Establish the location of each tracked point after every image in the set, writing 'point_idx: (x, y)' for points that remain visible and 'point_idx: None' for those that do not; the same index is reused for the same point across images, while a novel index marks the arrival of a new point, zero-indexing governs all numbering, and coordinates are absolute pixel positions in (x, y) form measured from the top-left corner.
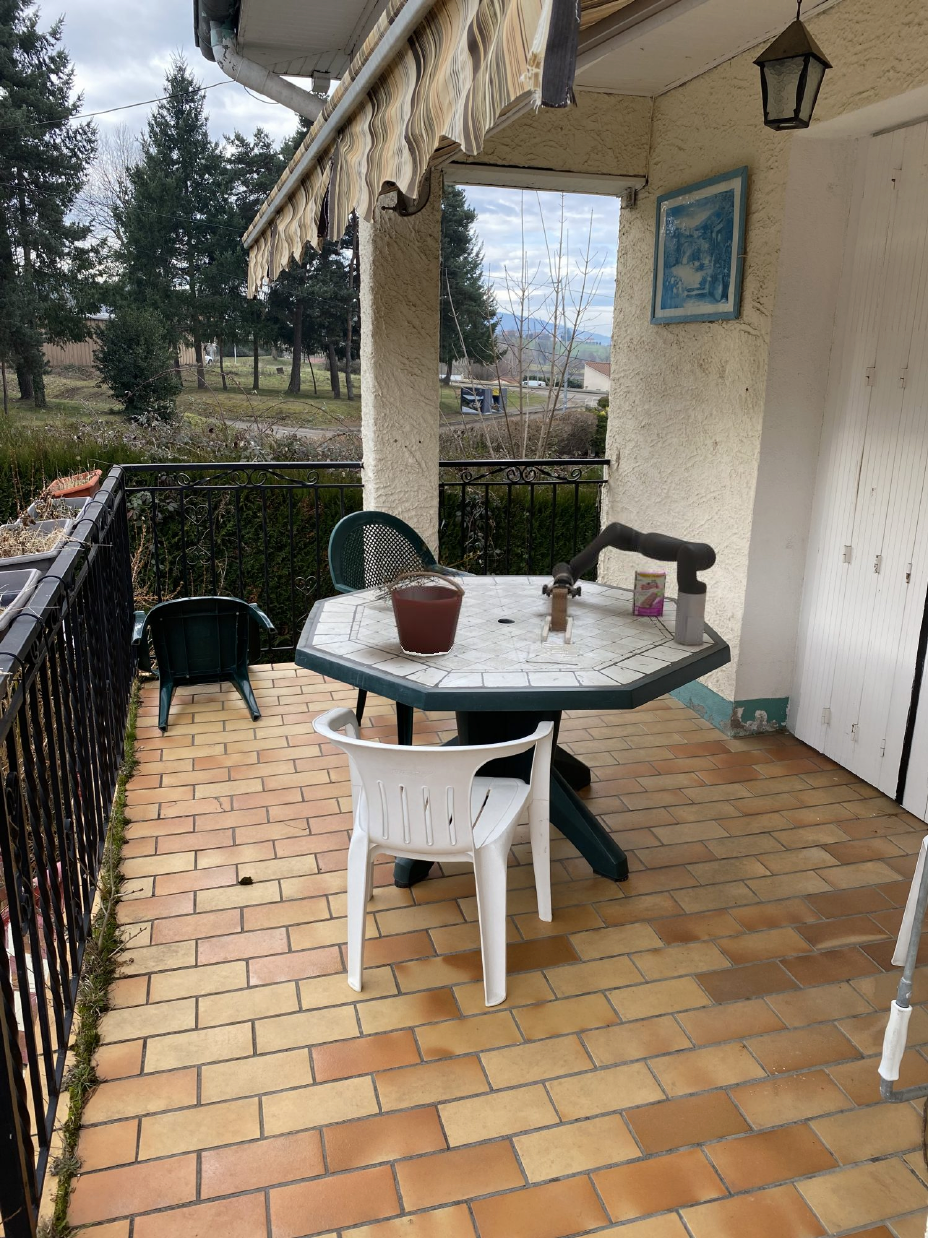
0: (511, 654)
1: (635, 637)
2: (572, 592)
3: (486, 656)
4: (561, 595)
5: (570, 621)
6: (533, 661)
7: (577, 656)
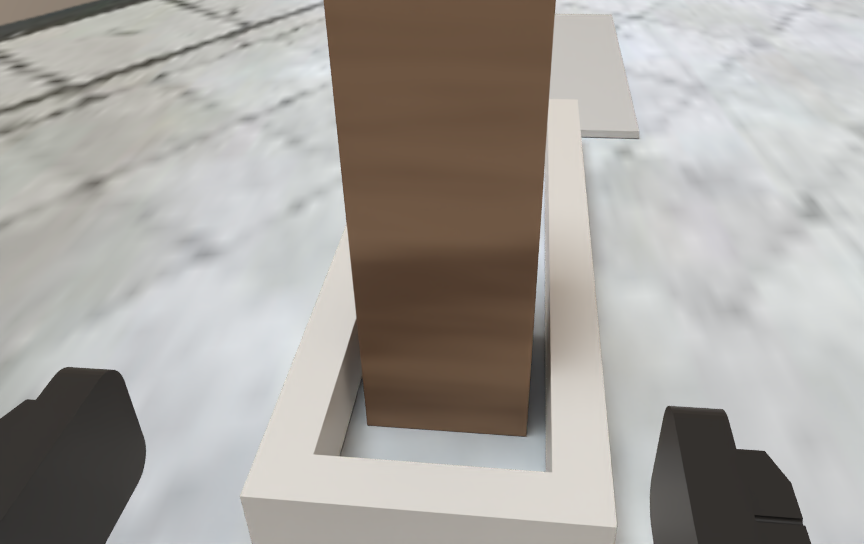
0: (699, 54)
1: None
2: (82, 388)
3: (803, 37)
4: None
5: (315, 356)
6: None
7: None
